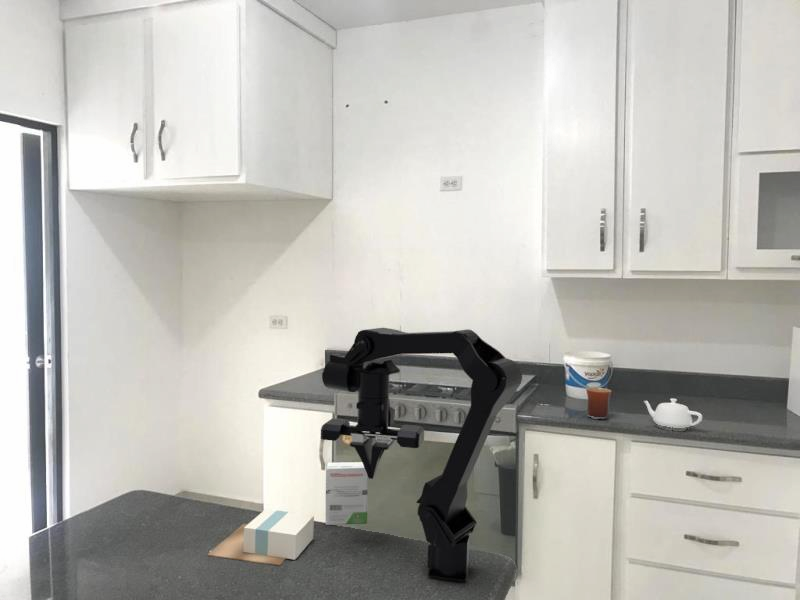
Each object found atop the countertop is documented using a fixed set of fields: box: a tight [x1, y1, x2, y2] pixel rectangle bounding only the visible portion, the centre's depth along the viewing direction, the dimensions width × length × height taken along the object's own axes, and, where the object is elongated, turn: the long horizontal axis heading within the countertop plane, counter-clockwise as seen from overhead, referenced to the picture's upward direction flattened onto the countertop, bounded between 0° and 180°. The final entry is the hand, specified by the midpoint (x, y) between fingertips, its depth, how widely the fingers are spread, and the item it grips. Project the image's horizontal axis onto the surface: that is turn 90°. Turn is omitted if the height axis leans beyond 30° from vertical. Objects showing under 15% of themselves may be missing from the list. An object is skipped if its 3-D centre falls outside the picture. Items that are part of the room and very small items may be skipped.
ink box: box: [325, 461, 369, 526], centre depth 130 cm, size 9×5×12 cm, turn 96°
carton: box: [243, 508, 315, 561], centre depth 117 cm, size 5×9×10 cm
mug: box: [585, 387, 613, 417], centre depth 228 cm, size 12×9×10 cm
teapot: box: [643, 397, 703, 428], centre depth 215 cm, size 20×12×10 cm, turn 44°
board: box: [206, 523, 287, 567], centre depth 118 cm, size 14×14×1 cm
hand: (371, 478), depth 118 cm, fingers closed
